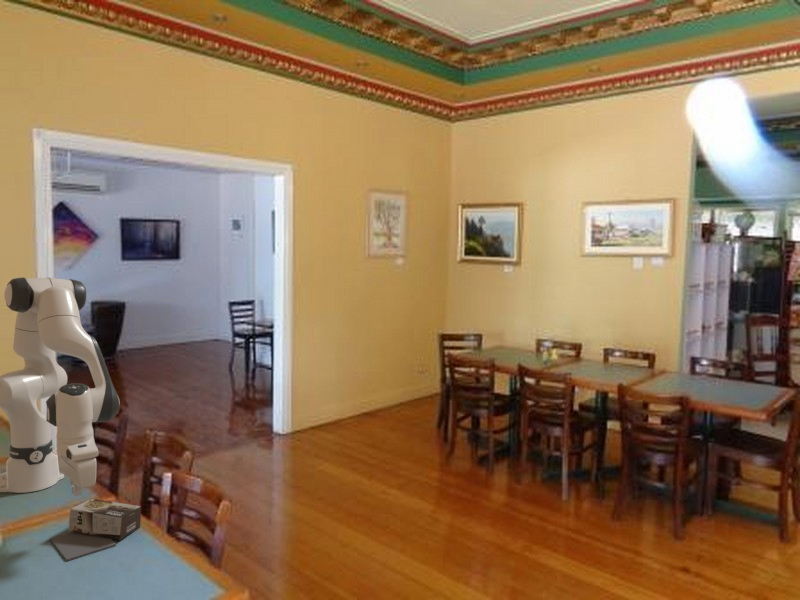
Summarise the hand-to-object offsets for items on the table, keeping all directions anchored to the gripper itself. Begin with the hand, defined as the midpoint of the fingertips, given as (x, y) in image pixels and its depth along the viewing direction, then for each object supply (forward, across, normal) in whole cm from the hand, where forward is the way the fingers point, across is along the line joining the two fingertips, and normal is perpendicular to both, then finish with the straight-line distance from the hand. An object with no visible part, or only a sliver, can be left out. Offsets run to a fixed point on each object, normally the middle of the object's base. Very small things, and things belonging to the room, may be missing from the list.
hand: (76, 493), depth 163 cm
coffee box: (+8, -5, +2) cm, 10 cm away
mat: (+12, +4, 0) cm, 13 cm away
